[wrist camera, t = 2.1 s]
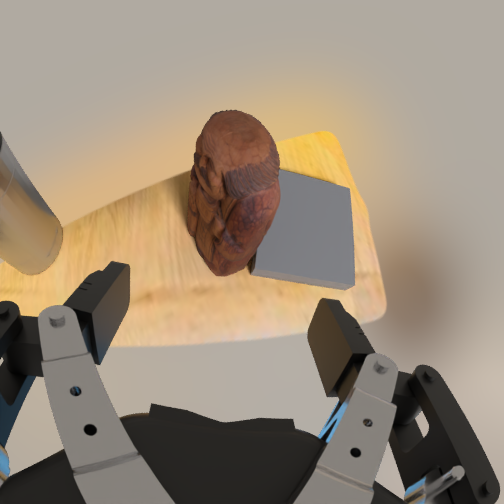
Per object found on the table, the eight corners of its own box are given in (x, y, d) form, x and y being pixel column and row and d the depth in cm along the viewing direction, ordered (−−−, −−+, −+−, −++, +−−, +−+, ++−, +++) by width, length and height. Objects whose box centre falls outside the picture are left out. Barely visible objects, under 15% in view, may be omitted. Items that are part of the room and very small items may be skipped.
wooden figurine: (176, 206, 35) (175, 93, 19) (220, 191, 37) (245, 81, 21) (213, 287, 32) (238, 209, 16) (260, 267, 34) (322, 182, 18)
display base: (250, 274, 34) (254, 268, 32) (262, 176, 40) (266, 166, 37) (345, 290, 36) (354, 285, 33) (342, 197, 42) (349, 188, 39)
